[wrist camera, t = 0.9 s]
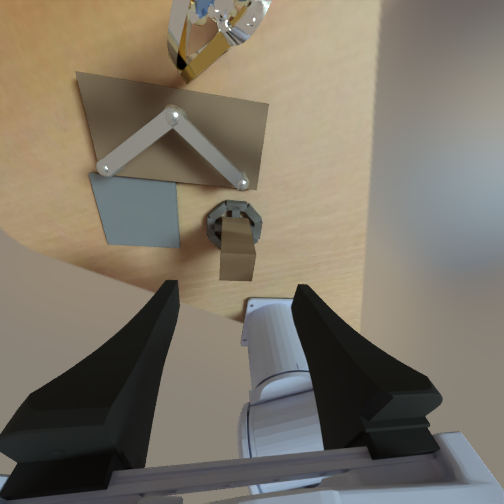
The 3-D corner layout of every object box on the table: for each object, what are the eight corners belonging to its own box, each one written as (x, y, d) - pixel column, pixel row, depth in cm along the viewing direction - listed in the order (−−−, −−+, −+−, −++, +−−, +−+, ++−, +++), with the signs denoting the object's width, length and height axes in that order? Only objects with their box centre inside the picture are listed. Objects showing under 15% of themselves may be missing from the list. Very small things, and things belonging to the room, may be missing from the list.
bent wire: (245, 180, 18) (248, 193, 15) (118, 166, 17) (94, 178, 14) (252, 116, 16) (258, 117, 13) (104, 93, 14) (70, 88, 11)
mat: (180, 246, 21) (179, 248, 21) (109, 242, 20) (108, 244, 20) (175, 181, 18) (175, 182, 17) (90, 172, 17) (88, 173, 16)
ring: (202, 102, 15) (183, 93, 8) (169, 50, 13) (111, -12, 7) (287, 28, 13) (348, -58, 7) (260, -42, 12) (306, -249, 5)
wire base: (255, 186, 19) (256, 189, 18) (106, 170, 17) (100, 174, 16) (266, 104, 15) (268, 104, 15) (84, 73, 13) (75, 71, 13)
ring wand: (256, 249, 22) (266, 294, 17) (207, 246, 21) (200, 293, 16) (264, 203, 19) (279, 239, 14) (208, 198, 19) (200, 234, 13)
